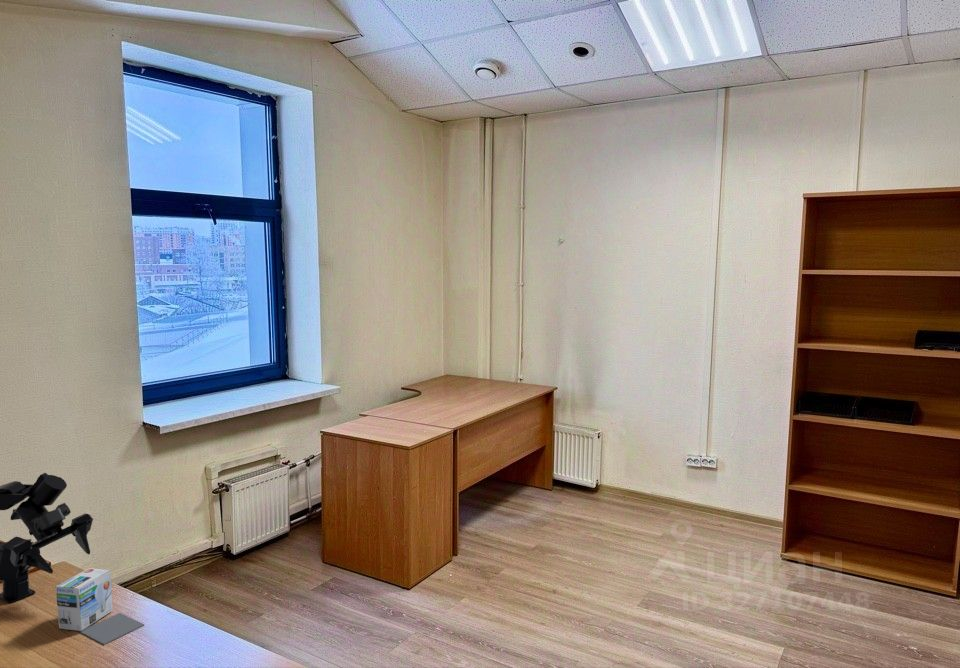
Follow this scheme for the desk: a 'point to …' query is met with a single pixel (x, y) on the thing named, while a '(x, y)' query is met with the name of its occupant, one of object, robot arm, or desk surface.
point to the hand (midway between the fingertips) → (71, 562)
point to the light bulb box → (84, 599)
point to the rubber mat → (111, 628)
